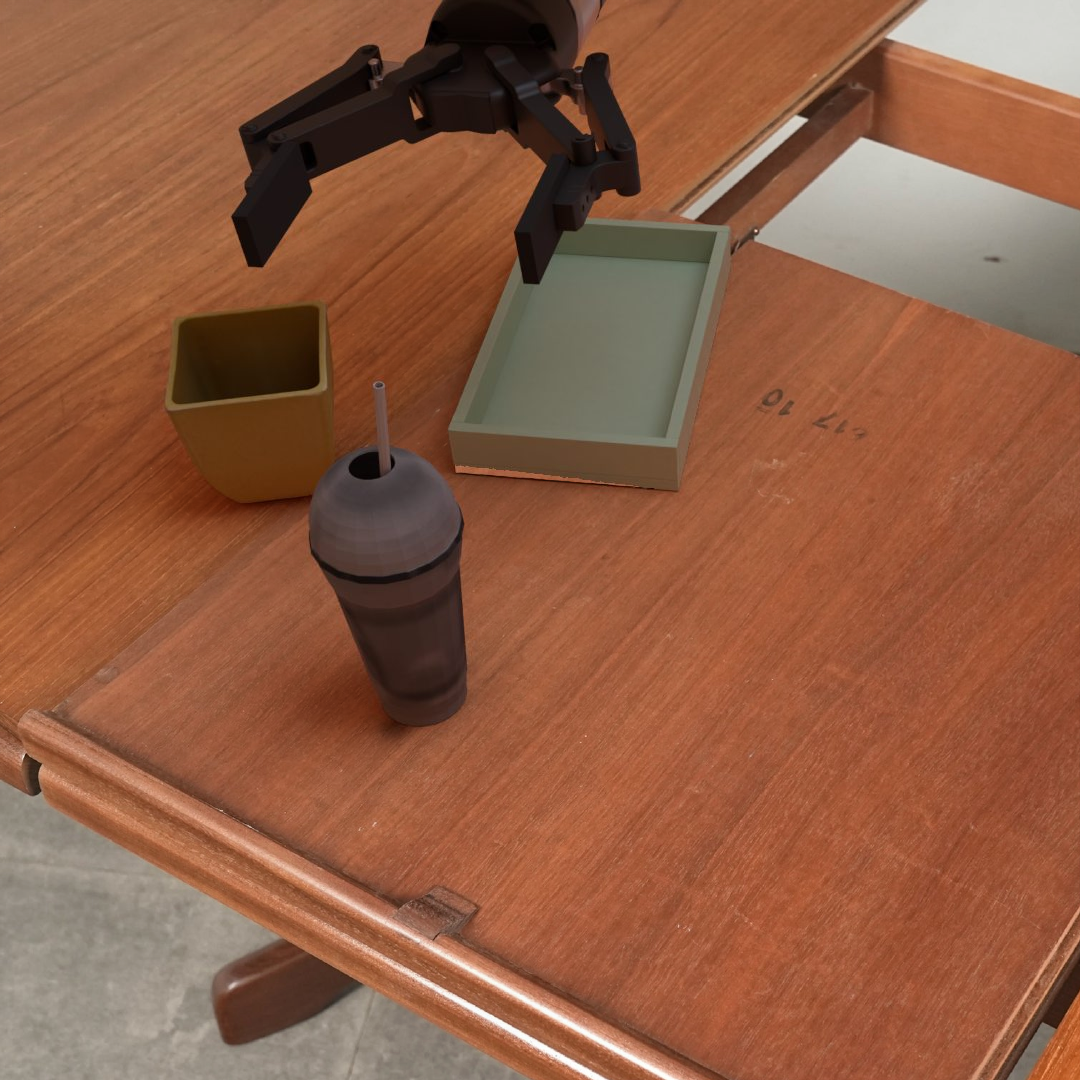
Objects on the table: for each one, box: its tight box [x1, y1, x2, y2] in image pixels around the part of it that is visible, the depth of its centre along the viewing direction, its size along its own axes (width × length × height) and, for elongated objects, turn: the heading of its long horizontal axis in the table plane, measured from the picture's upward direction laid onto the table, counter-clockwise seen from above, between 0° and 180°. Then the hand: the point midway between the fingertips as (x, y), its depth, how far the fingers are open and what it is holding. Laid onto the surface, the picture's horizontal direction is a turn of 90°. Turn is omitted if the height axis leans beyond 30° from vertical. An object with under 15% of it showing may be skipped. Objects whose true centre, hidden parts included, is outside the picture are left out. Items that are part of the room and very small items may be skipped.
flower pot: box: [164, 300, 336, 504], centre depth 90 cm, size 9×9×9 cm
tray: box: [447, 217, 732, 492], centre depth 99 cm, size 24×14×3 cm, turn 172°
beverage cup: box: [308, 381, 468, 727], centre depth 74 cm, size 7×7×20 cm
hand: (383, 251), depth 71 cm, fingers open, 13 cm apart
